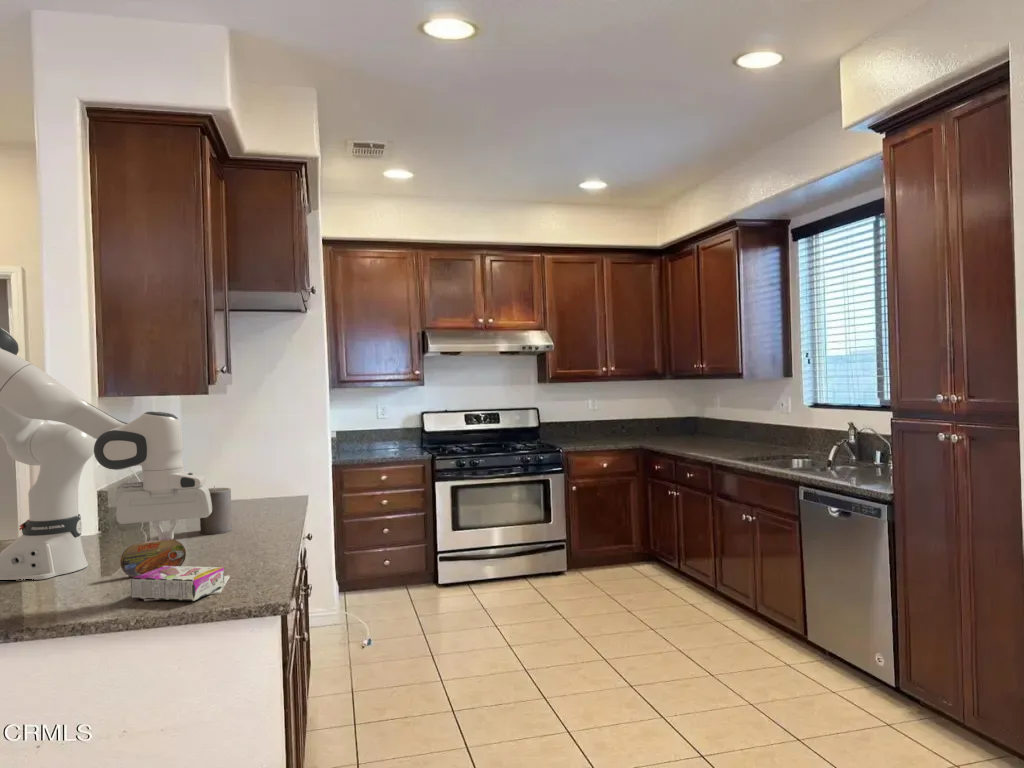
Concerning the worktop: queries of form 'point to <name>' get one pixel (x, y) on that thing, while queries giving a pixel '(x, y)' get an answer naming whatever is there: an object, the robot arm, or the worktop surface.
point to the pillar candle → (218, 512)
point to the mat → (208, 594)
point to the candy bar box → (177, 583)
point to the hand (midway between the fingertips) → (166, 539)
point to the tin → (152, 556)
